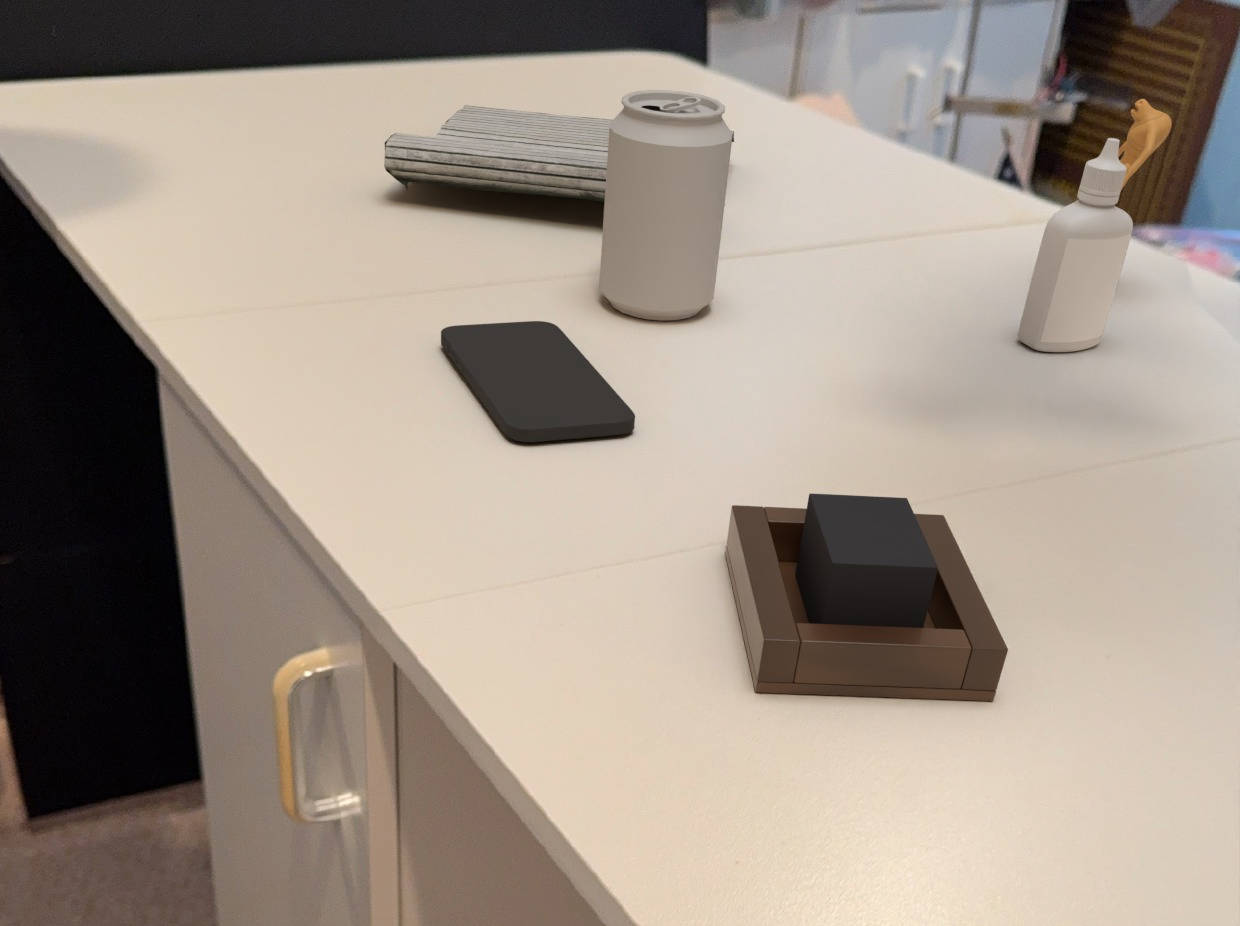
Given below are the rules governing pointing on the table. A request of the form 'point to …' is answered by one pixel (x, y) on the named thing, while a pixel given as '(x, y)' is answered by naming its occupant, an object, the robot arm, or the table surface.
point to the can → (664, 204)
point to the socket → (852, 654)
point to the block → (864, 562)
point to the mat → (507, 154)
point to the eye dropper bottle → (1079, 262)
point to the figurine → (1143, 136)
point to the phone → (536, 381)
